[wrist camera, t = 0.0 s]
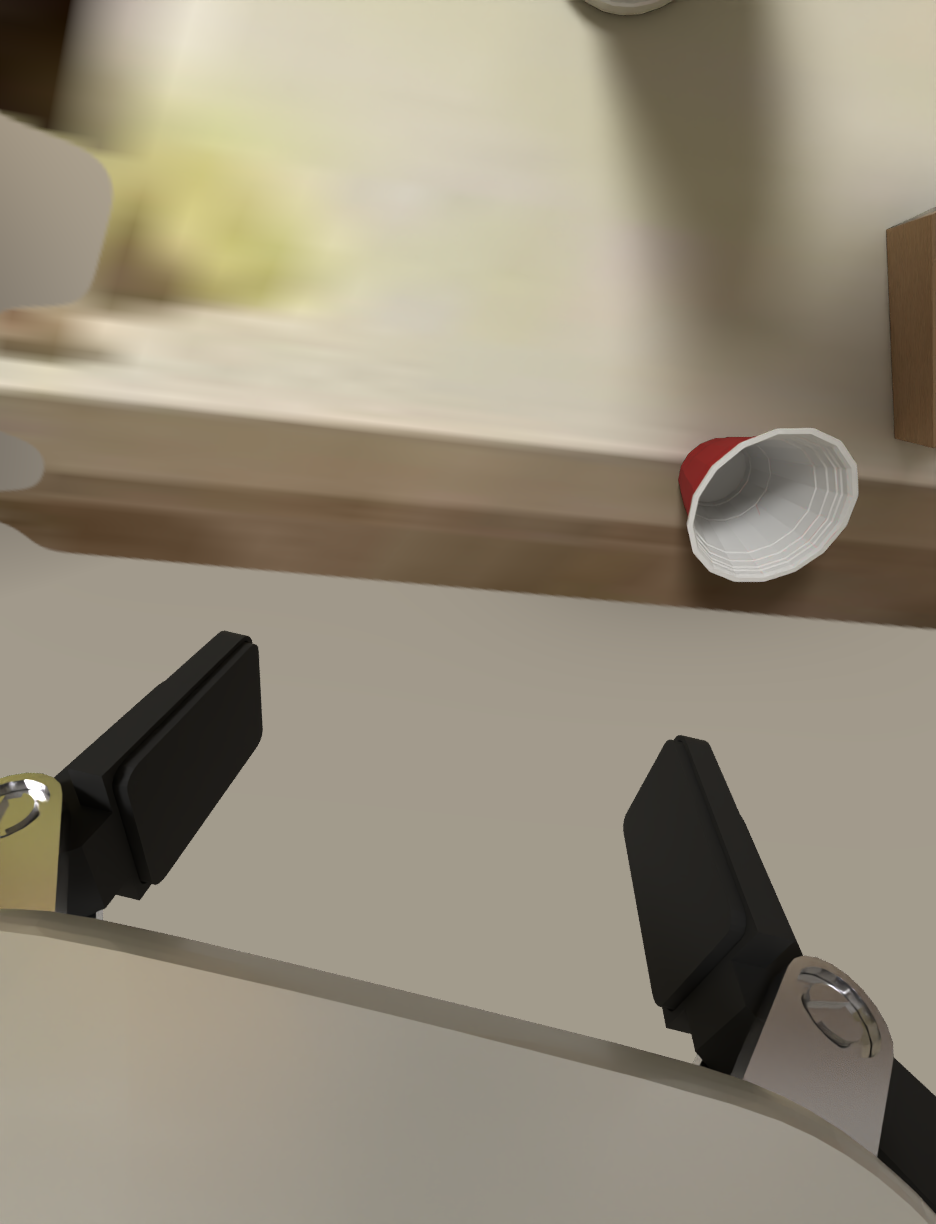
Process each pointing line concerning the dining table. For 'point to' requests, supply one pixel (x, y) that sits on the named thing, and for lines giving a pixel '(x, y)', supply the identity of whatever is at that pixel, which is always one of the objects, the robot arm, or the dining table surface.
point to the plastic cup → (767, 501)
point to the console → (913, 327)
